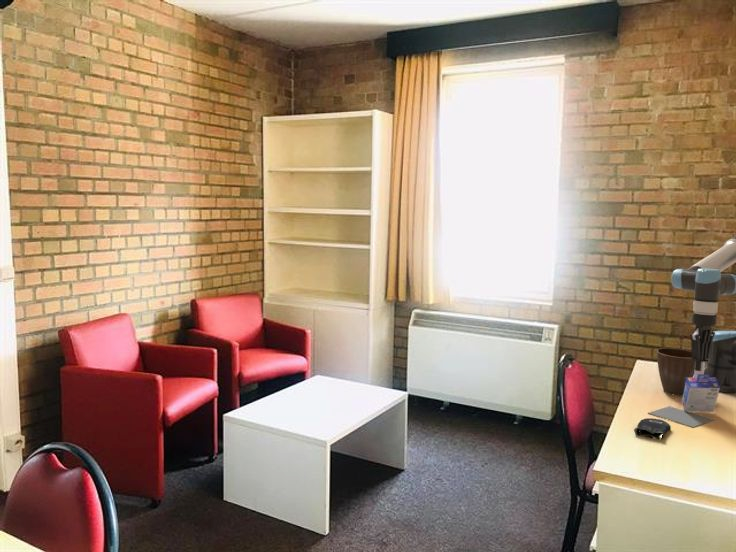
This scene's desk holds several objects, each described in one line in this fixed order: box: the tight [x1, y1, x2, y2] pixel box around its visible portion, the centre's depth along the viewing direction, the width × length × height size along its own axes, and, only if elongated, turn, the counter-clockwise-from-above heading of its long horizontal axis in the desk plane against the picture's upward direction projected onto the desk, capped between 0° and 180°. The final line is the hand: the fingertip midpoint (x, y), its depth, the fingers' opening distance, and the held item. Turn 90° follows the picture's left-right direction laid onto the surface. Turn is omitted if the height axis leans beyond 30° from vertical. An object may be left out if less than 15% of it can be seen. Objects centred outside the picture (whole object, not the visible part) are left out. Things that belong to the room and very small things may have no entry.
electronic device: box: [633, 417, 672, 440], centre depth 206 cm, size 9×6×15 cm
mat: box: [647, 405, 715, 429], centre depth 221 cm, size 14×16×1 cm
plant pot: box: [656, 347, 695, 396], centre depth 248 cm, size 15×15×16 cm
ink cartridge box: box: [681, 374, 720, 413], centre depth 222 cm, size 10×6×14 cm
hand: (698, 379), depth 224 cm, fingers closed
